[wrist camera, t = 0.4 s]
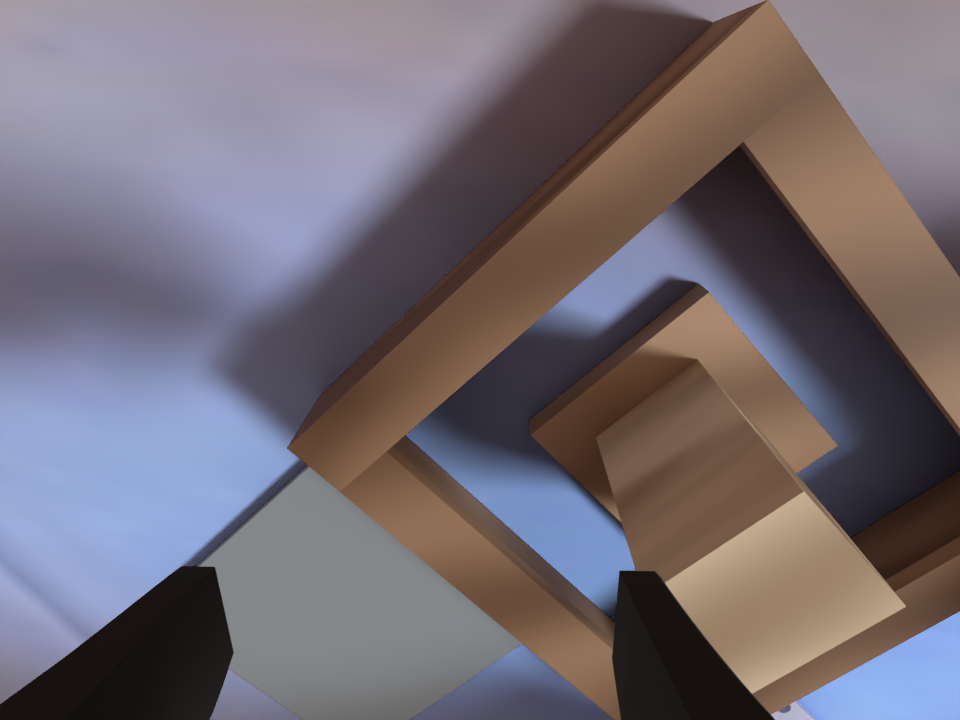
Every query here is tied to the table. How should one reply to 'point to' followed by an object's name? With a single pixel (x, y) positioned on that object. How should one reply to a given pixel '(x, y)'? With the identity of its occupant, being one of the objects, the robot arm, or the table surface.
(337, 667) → the place mat
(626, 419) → the beech block
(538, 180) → the table surface
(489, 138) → the table surface
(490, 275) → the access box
